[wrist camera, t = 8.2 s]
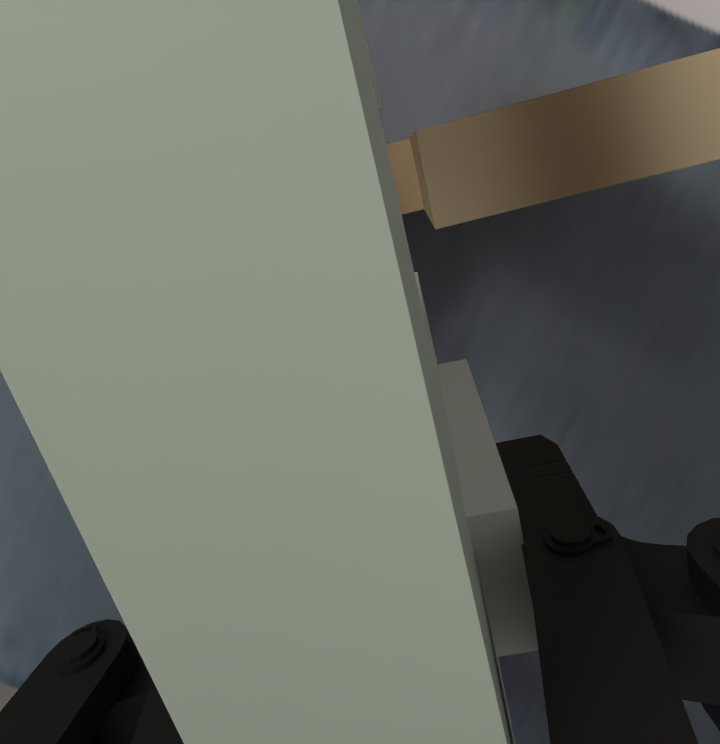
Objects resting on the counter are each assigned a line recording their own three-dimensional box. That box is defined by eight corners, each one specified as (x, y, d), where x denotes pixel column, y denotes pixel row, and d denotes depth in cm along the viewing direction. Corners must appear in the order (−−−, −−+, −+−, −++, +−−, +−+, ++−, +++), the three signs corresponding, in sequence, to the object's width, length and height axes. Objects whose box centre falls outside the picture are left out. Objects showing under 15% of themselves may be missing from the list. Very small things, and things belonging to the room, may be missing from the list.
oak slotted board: (192, 255, 27) (51, 324, 16) (174, 204, 27) (14, 240, 15) (575, 156, 25) (723, 158, 14) (568, 98, 24) (719, 48, 13)
